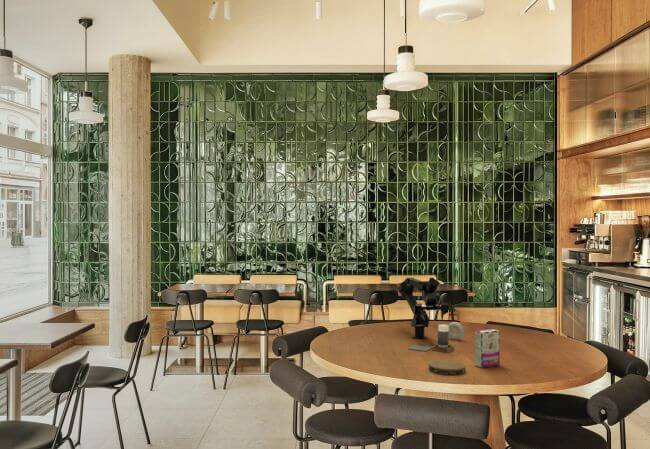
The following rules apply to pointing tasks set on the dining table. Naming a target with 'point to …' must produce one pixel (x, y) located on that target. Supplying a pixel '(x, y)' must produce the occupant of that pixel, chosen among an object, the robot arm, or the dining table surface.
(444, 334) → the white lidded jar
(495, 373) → the dining table surface
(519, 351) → the dining table surface
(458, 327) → the donut
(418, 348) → the charcoal mat
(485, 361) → the candy bar box
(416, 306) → the robot arm
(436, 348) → the walnut collar
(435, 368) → the brown round disc
